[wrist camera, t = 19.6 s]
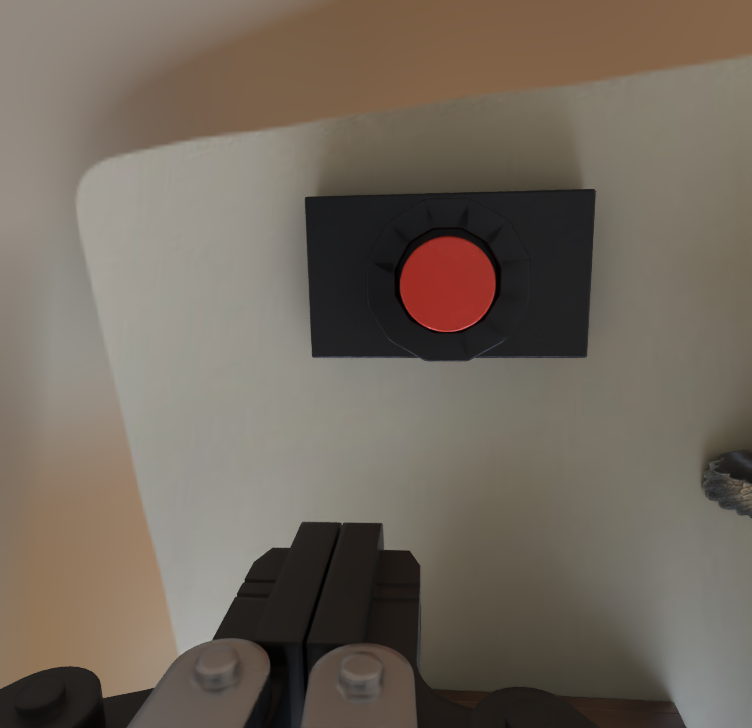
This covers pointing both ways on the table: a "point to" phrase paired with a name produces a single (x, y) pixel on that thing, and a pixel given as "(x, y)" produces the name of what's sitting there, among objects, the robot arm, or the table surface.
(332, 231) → the black base block
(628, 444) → the table surface
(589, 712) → the cold frame
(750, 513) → the brown plastic figure
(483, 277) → the button
